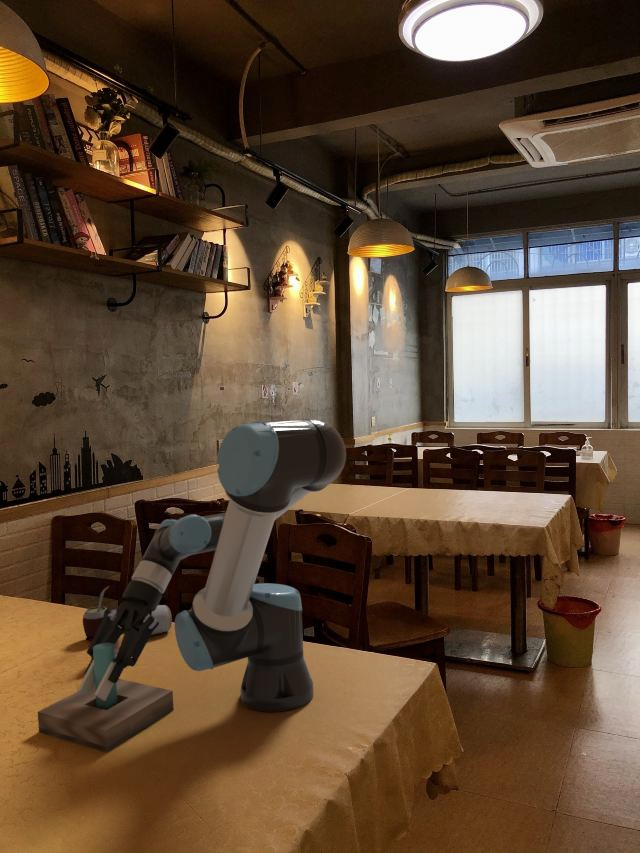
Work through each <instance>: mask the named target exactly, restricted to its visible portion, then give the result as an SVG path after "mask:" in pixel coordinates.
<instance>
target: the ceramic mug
mask: <svg viewBox="0 0 640 853" xmlns="http://www.w3.org/2000/svg"><path fill="white" fill-rule="evenodd" d="M152 616H153V617H154V618H155V619H156V620H157V621H158V622H159V625H158V626H157V627H156V629H155V630H154V631H153V632H152V634H151V636H153V635H157V634H158V635H159V634H163V632H164V633H167V632H168V631H170V630H171V628H172V623H173V622H172V621H173V619H172V613H171V609H170V608H169V607H168V606H167V605H166V604H163V605H162V604H158V606H157V608H156V610H155V611H153V612H152Z"/></svg>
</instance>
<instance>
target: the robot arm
mask: <svg viewBox="0 0 640 853" xmlns="http://www.w3.org/2000/svg"><path fill="white" fill-rule="evenodd" d="M216 457H217V458H216V463H217V465H218V468H217V477H218V480H219V482H220V484H221V486H222V487H223V490H224V492H225V494H226V496H227V498H228V499H229V501H228V505H227V508H226V511H225V512H222V513H216V514H210V515H204V516H203V515H202V516H200V515H197V514H189V515H186V516H183V517H180V518H178V519H164V520H163V521H161V523H160V524H159V526H158V527H157V529H156V530H155V532H154V535H153V536H152V539H151V541H150V543H149V545H148V547H147V549H146V551H145V552H144V554H143V556H142V558H141V560H140V561H139V563H138V565H137V567H136V568H135V570H134V572H133V574H132V576H131V580H130V581H128V584H127V585H126V588H125V590H124V592H123V593H122V600H121V603H120V604H119V605H118V606H117V608H116V609H111V610H110V609H109V608H107V609H106V610H105V611H104V616H103V620H102V622H101V624H100V626H99V628H98V630H97V632H96V634H95V636H94V638H93V640H91V642H90V643H89V646H88V648H87V650H86V654H88V655H89V656H90V657H91V658H90V659H91V660H90V661H89V664H88V665H87V667H86V668H85V671H84V677H83V679H82V680H81V683H80V684H79V686H78V688H77V691H76V692H78V691H79V692H80V693H82V694H83V695H85V696H87V697H88V696H89V694H90V692H91V690H92V688H93V686H94V685H95V672H94V656H93V647H94V646H95V645H98V644H101V643H113V644H114V645H115V643H116V642H117V640H118V639H119V640H120V637H121V636H122V635H123V637H122V640H121V642H120V648H119V651H118V654H117V657H116V658H114V659H113V661H114V662H115V663H113V662H111V663H110V665H109V667H108V669H107V670H106V672H105V674H104V676H103V678H102V680H101V682H100V684H99V686H98V688H97V690H96V692H95V694H94V695H95V696H97V697H98V698H100V699H101V700H103V701H105V700H106V698H107V696H108V694H109V692H110V690H111V688H112V686H113V684H114V683H116V682H117V681H118V679H120V677H121V675H122V673H123V671H124V669H126V668H127V667H131V668H132V667H134V666H136V664H137V662H138V660H139V658H140V656H141V654H142V652H143V650H144V649H145V646H146V645H147V643H148V642H149V639H150V638H151V636H152V635H151V634H152V632H153V631H154V630H155V629H156V627H157V626H158V625H159V622H158V621H157V620H156V619H155V618H154V617H153V616H152V612H153V611H155V610H156V608H157V606H158V605H160V601H161V600H162V598H163V595H162V594H164V593H165V591H166V589H167V587H168V585H169V583H170V582H171V579H172V576H174V573H175V571H176V569H177V567H178V566H179V563H180V562H181V561H182V560H184V559H186V558H187V557H189V556H193V555H197V554H202V553H207V552H214V555H213V559H212V562H211V567H210V570H209V574H208V577H207V580H206V584H205V587H204V588H202V589H200V590H198V592H197V593H196V594H195V596H194V598H193V601H192V604H191V608H190V609H189V610H185V609H184V610H182V611H180V612H179V613H177V614H176V616H175V619H174V634H175V640H176V642H177V647H178V650H179V652H180V655H181V657H182V659H183V661H184V663H185V664H186V666H188V667H189V668H190V669H191V670H192V671H196V672H202V671H206V670H213V669H215V668H218V667H221V666H225V665H227V664H230V663H231V664H232V663H233V662H236V661H240V660H243V659H246V658H247V664H246V667H245V670H244V674H243V678H242V682H241V685H240V700H241V702H242V704H243V705H244V706H246V707H247V708H249V709H252V710H254V711H259V712H268V713H269V712H270V713H276V712H285V711H290V710H294V709H297V708H300V707H302V706H304V705H306V704H308V703H309V702H310V701H311V700H312V699H313V697H314V682H313V679H312V677H311V674H310V671H309V668H308V666H307V663H306V661H305V657H304V639H303V615H302V613H303V607H302V606H303V605H302V598H301V594H300V591H299V590H298V589H296V588H295V587H292V586H290V585H286V584H279V583H269V582H268V583H267V582H265V583H256V580H257V577H258V574H259V571H260V570H259V569H260V568H261V564H262V561H263V557H264V555H265V551H266V548H267V545H268V541H269V539H270V536H271V533H272V529H273V526H274V524H275V521H276V520H277V519H279V518H280V517H281V516H282V515H283V514H285V513H286V512H288V510H290V509H291V508H292V507H293V506H295V505H296V504H298V502H300V501H301V500H302V499H304V498H305V497H306V496H307V495H309V494H310V493H316V492H317V493H318V492H320V491H322V490H324V489H325V488H326V487H327V486H329V485H331V483H333V482H334V481H335V480H337V478H338V477H339V476H340V475H341V473H342V471H343V469H344V468H345V464H346V461H347V450H346V445H345V442H344V440H343V438H342V436H341V434H340V432H338V430H337V429H335V428H334V426H332V425H331V424H329V423H327V422H325V421H322V420H320V419H315V418H303V419H302V418H301V419H293V420H281V421H278V420H277V421H267V422H265V421H259V420H258V421H257V420H256V421H253V422H250V423H244V424H243V423H242V424H239V425H237V426H234V427H232V428H231V429H230V430H228V432H227V433H226V434H225V435H224V437H223V439H222V440H221V442H220V445H219V448H218V452H217V456H216Z"/></svg>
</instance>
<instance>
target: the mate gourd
mask: <svg viewBox="0 0 640 853" xmlns="http://www.w3.org/2000/svg"><path fill="white" fill-rule="evenodd" d="M109 588H110V586H109V585H108V586H107V587H105V588H104V589H102V591H101V592H100V595H99V602H98V606H93V607H89V608H87V609H86V610H85V612H84V613H83V615H82V616H83V617H82V626H83V631H84V633H85V641H86V640H87V641H92V640H93V638H94V636H95V634H96V632H97V630H98V628H99V626H100V624H101V622H102V620H103V616H104V611H105V610H106V609H108V608H107V607H106V606H102V601H103V598H104V595H105V592H106V591H107V590H108V589H109Z"/></svg>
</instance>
